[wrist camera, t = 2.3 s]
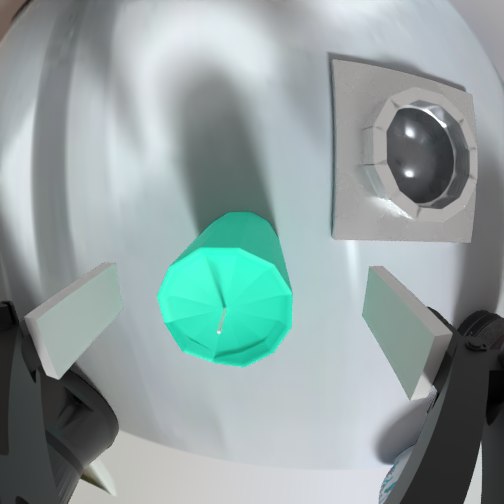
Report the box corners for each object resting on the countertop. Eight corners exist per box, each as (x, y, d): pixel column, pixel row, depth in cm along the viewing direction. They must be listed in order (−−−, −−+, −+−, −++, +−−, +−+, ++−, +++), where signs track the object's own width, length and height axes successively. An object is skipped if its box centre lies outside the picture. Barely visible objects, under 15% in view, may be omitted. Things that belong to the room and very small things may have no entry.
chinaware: (413, 475, 32) (423, 504, 25) (350, 479, 31) (358, 516, 24) (467, 422, 28) (486, 452, 21) (411, 422, 27) (431, 464, 20)
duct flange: (331, 237, 21) (342, 247, 18) (330, 62, 18) (340, 48, 15) (466, 240, 21) (485, 249, 18) (467, 96, 17) (486, 90, 14)
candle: (211, 202, 21) (151, 237, 9) (289, 221, 21) (320, 278, 10) (196, 275, 23) (141, 368, 11) (268, 293, 23) (274, 400, 11)
